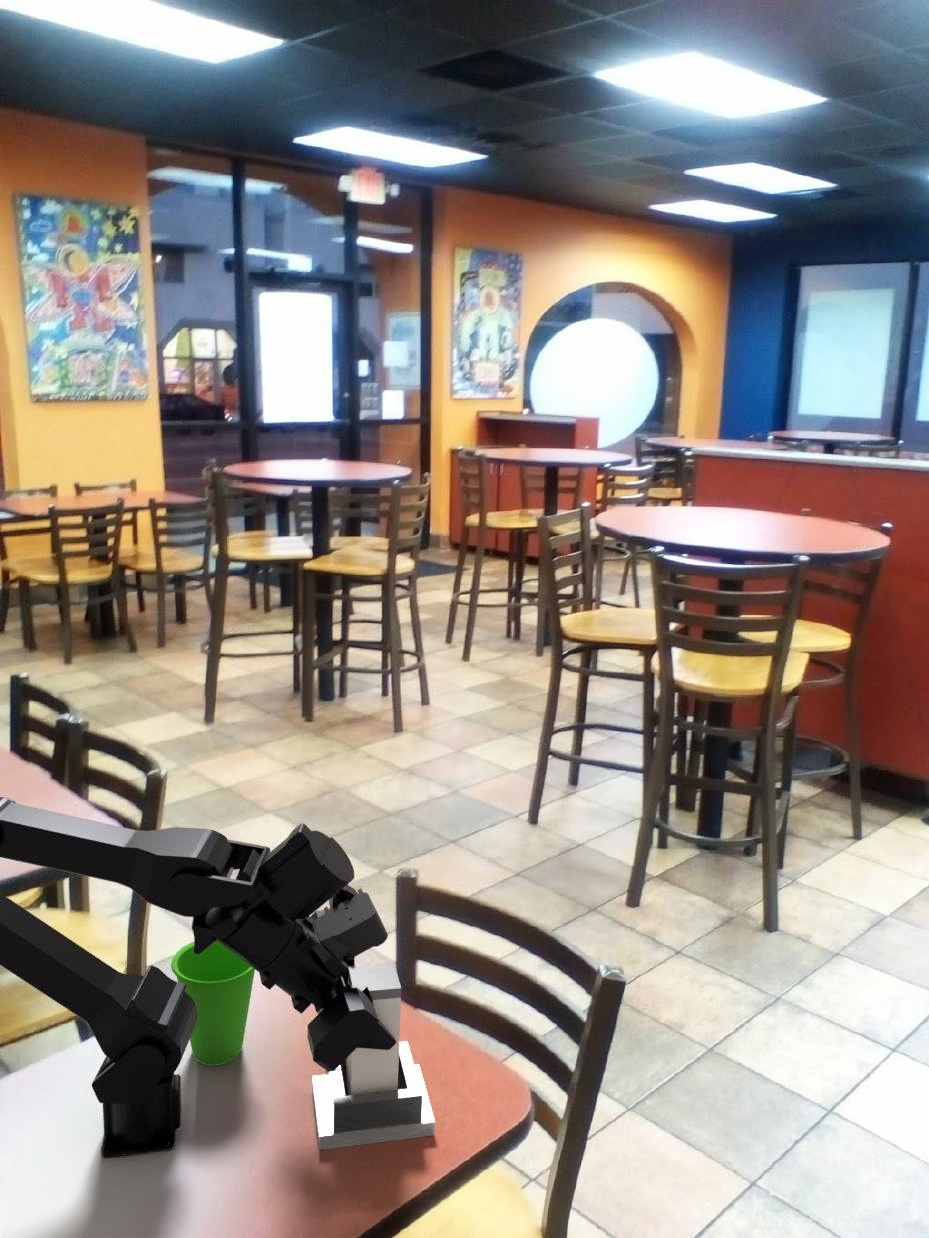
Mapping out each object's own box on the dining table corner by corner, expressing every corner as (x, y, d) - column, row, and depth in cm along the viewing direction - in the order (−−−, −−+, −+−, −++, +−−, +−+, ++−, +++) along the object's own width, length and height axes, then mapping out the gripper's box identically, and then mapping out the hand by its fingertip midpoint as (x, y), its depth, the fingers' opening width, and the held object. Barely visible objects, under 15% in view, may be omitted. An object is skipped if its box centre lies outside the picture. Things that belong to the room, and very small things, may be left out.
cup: (158, 1046, 109) (155, 954, 106) (233, 1014, 115) (232, 926, 112) (199, 1090, 102) (197, 993, 100) (276, 1054, 108) (276, 961, 106)
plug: (350, 1108, 97) (353, 992, 94) (345, 1078, 101) (348, 965, 99) (397, 1103, 98) (401, 988, 95) (390, 1073, 102) (393, 962, 100)
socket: (319, 1149, 95) (320, 1108, 94) (312, 1089, 103) (312, 1050, 102) (434, 1135, 97) (436, 1094, 96) (418, 1076, 106) (419, 1038, 105)
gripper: (356, 928, 85) (474, 1026, 91) (318, 835, 102) (420, 921, 108) (260, 1025, 84) (386, 1117, 90) (239, 914, 101) (345, 997, 107)
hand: (386, 1029), depth 99 cm, fingers closed on plug, 5 cm apart
